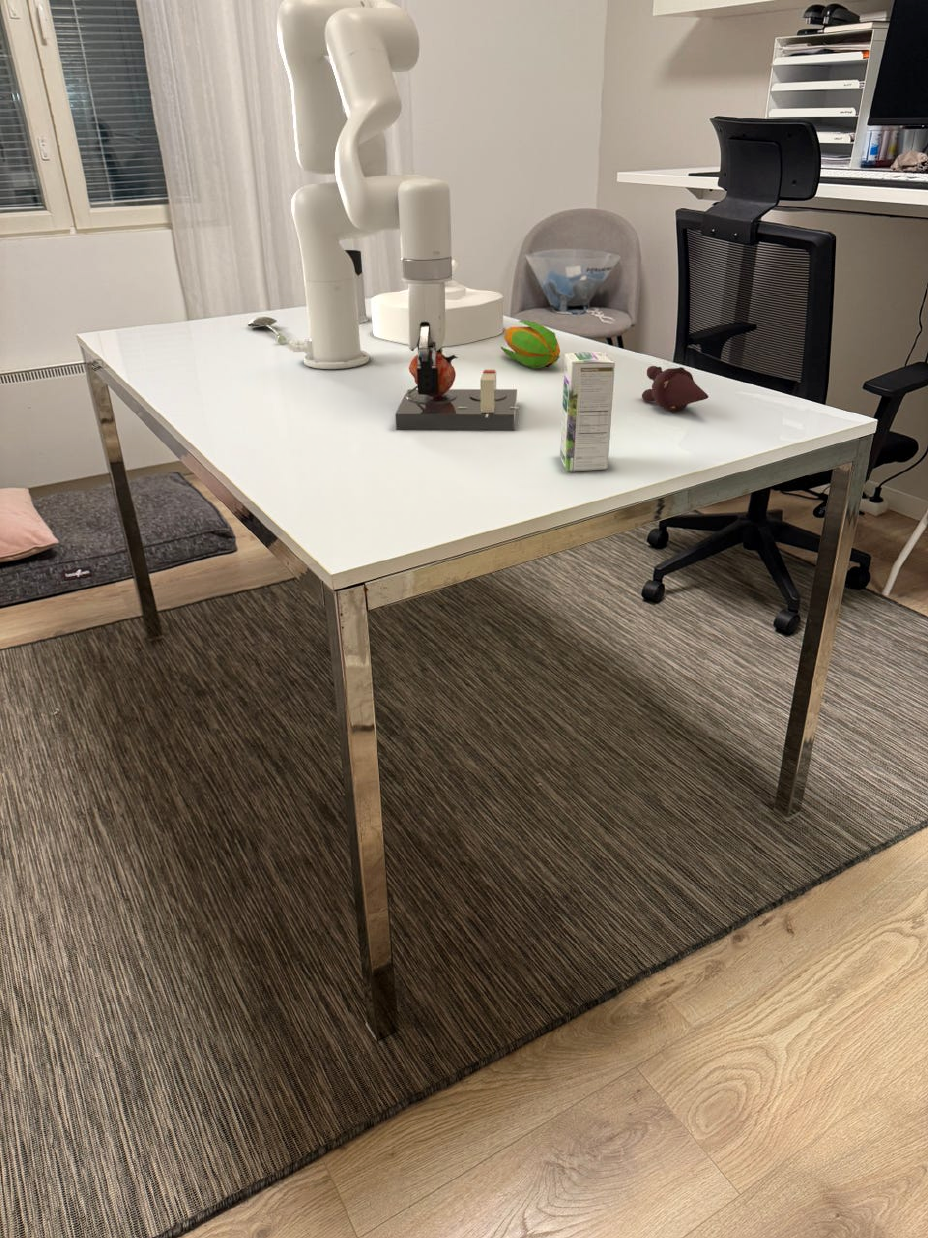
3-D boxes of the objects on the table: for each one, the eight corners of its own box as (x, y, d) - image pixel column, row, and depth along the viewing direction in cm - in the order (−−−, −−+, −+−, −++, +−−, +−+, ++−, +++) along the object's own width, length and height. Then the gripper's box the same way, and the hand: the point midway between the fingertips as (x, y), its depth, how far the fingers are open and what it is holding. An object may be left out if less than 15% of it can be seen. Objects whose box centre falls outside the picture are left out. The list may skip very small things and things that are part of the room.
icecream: (731, 375, 140) (668, 364, 152) (694, 369, 136) (632, 358, 149) (719, 421, 142) (658, 406, 154) (683, 416, 138) (623, 401, 151)
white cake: (440, 316, 217) (438, 242, 210) (518, 330, 202) (519, 252, 194) (357, 333, 202) (351, 255, 194) (435, 350, 186) (432, 266, 179)
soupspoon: (274, 327, 213) (246, 331, 211) (272, 312, 212) (243, 316, 210) (297, 342, 195) (267, 346, 193) (295, 325, 194) (264, 330, 192)
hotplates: (403, 403, 144) (403, 402, 144) (410, 389, 151) (410, 388, 151) (505, 403, 143) (505, 402, 143) (507, 389, 150) (507, 388, 150)
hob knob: (494, 412, 139) (493, 378, 136) (480, 412, 139) (480, 377, 136) (496, 403, 143) (496, 369, 141) (483, 403, 143) (483, 369, 141)
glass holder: (326, 324, 212) (319, 254, 205) (343, 312, 224) (337, 246, 217) (362, 324, 211) (357, 254, 204) (378, 312, 223) (374, 246, 216)
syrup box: (558, 458, 128) (562, 352, 121) (600, 456, 128) (606, 350, 121) (566, 472, 123) (570, 362, 116) (609, 470, 123) (616, 360, 116)
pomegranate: (410, 415, 146) (456, 380, 140) (384, 375, 145) (430, 338, 140) (430, 407, 152) (475, 374, 147) (406, 369, 151) (451, 334, 146)
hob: (394, 433, 139) (393, 415, 138) (408, 404, 153) (407, 388, 152) (518, 433, 138) (518, 416, 137) (521, 404, 152) (521, 388, 150)
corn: (535, 331, 164) (489, 312, 180) (531, 375, 167) (487, 352, 184) (571, 330, 166) (523, 311, 183) (567, 373, 170) (520, 351, 186)
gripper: (409, 261, 146) (414, 373, 155) (393, 279, 131) (400, 402, 140) (456, 261, 146) (459, 373, 154) (446, 279, 130) (449, 402, 139)
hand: (431, 386), depth 147 cm, fingers closed on pomegranate, 7 cm apart
